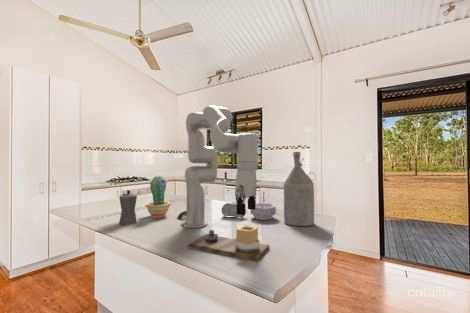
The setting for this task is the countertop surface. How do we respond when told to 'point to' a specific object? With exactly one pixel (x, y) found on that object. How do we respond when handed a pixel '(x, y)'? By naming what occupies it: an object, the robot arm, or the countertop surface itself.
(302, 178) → the grey bottle
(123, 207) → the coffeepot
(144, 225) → the countertop surface
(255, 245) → the hub
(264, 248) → the board
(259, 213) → the paper bowls
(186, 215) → the bread roll
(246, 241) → the hollow square block
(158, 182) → the potted cactus
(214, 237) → the round drawer knob
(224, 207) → the tin
